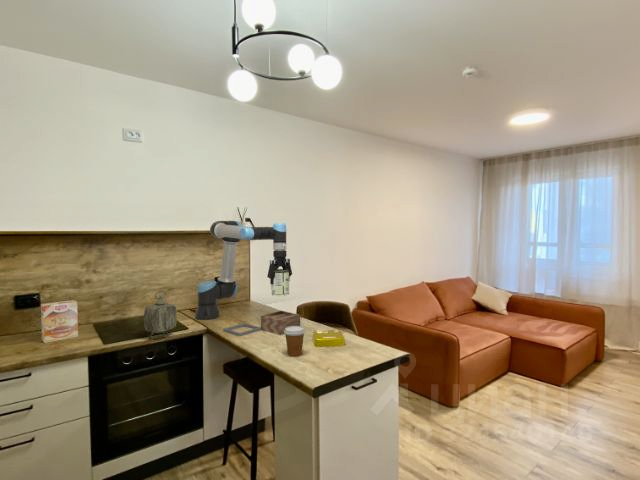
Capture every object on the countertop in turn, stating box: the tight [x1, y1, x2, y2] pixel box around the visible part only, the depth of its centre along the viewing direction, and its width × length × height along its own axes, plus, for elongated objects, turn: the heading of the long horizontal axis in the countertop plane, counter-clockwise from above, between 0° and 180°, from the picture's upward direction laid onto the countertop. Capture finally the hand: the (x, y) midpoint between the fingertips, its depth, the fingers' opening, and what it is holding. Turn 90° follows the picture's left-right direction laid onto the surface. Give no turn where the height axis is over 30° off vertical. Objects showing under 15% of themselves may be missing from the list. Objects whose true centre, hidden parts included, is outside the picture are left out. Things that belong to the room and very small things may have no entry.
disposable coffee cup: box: [284, 325, 306, 357], centre depth 162 cm, size 10×10×12 cm
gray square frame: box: [222, 322, 262, 337], centre depth 201 cm, size 15×15×2 cm
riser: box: [260, 310, 301, 336], centre depth 203 cm, size 16×16×8 cm
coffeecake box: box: [40, 299, 79, 344], centre depth 188 cm, size 15×7×20 cm, turn 137°
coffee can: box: [271, 268, 290, 297], centre depth 203 cm, size 10×10×14 cm
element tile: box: [312, 329, 345, 348], centre depth 180 cm, size 15×15×5 cm
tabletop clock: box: [143, 290, 178, 340], centre depth 190 cm, size 14×9×25 cm, turn 152°
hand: (280, 288), depth 203 cm, fingers closed on coffee can, 10 cm apart
